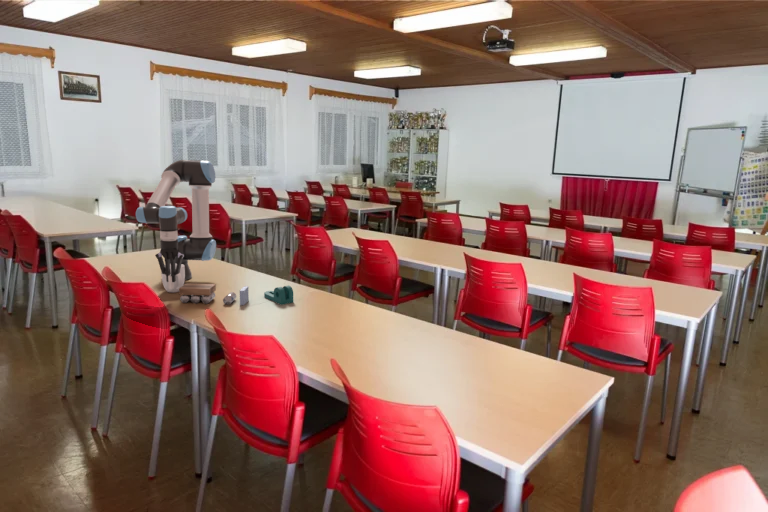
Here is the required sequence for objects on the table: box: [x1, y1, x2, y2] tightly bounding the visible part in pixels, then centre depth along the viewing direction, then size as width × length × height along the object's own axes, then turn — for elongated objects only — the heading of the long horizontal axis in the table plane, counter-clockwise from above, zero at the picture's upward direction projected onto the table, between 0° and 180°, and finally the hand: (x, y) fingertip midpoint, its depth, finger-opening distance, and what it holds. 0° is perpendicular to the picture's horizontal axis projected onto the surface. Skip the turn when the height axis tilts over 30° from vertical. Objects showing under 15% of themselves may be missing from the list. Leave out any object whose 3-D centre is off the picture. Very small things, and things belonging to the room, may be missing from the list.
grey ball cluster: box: [179, 291, 216, 305], centre depth 243 cm, size 8×14×4 cm, turn 90°
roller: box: [222, 291, 237, 306], centre depth 243 cm, size 8×4×4 cm
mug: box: [160, 263, 186, 293], centre depth 256 cm, size 15×11×13 cm
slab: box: [178, 283, 216, 296], centre depth 242 cm, size 9×14×3 cm, turn 90°
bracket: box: [263, 284, 294, 306], centre depth 250 cm, size 18×7×8 cm, turn 43°
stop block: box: [239, 285, 249, 306], centre depth 243 cm, size 8×2×7 cm, turn 0°
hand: (171, 288), depth 242 cm, fingers closed
